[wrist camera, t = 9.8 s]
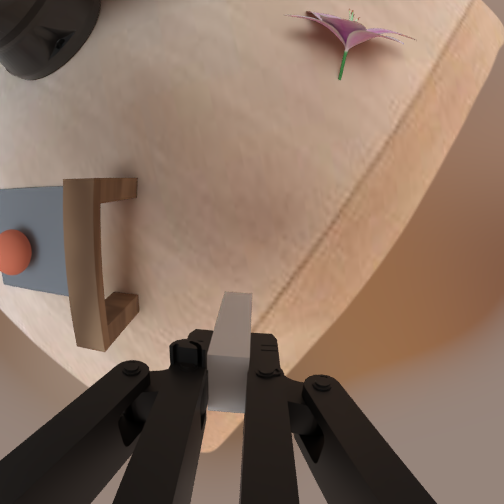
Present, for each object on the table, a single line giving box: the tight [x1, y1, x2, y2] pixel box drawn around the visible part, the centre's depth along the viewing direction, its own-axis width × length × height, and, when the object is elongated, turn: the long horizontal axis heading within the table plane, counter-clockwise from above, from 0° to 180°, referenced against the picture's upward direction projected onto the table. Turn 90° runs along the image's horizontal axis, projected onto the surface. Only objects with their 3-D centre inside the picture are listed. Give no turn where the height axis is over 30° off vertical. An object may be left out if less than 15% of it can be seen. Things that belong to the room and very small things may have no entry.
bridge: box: [63, 178, 139, 352], centre depth 27 cm, size 3×14×9 cm, turn 176°
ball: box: [0, 229, 32, 275], centre depth 29 cm, size 6×6×6 cm
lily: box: [284, 9, 415, 80], centre depth 23 cm, size 12×12×10 cm
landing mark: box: [0, 186, 69, 296], centre depth 31 cm, size 13×13×1 cm
